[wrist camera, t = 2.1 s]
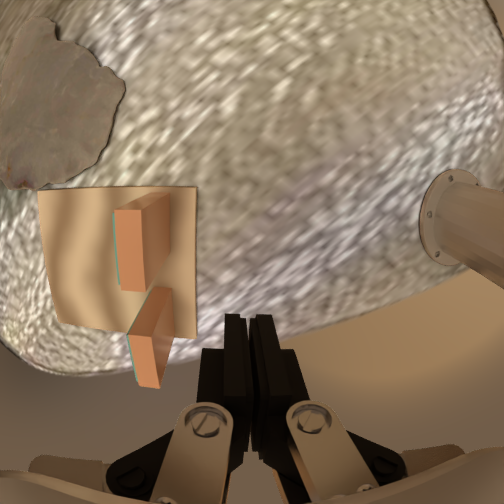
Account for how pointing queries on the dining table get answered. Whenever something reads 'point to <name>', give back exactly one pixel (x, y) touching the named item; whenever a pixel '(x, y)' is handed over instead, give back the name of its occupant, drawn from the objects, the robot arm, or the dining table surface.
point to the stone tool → (52, 108)
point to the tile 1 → (141, 240)
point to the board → (113, 257)
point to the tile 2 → (152, 337)
